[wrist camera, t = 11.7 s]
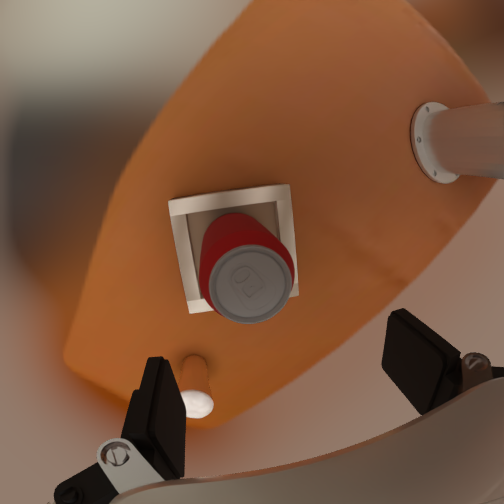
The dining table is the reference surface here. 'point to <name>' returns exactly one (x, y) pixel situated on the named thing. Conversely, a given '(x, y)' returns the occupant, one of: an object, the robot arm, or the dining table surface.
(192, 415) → the milkshake
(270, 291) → the beverage can
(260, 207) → the white square tray
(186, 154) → the dining table surface
